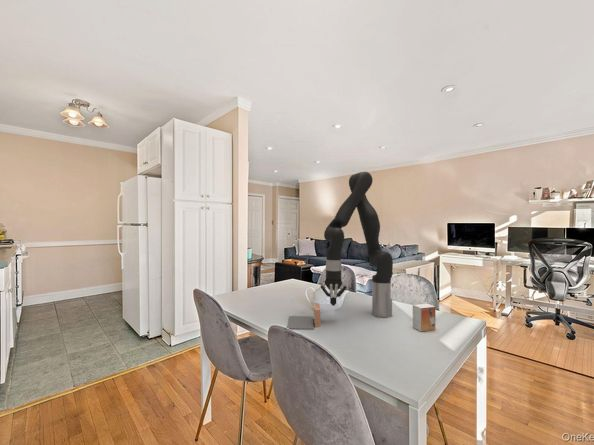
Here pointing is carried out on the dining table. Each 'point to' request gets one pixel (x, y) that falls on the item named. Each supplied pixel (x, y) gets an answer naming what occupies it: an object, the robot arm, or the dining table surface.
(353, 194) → the robot arm
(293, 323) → the felt mat
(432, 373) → the dining table surface
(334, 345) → the dining table surface
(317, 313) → the tile
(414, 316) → the small box
